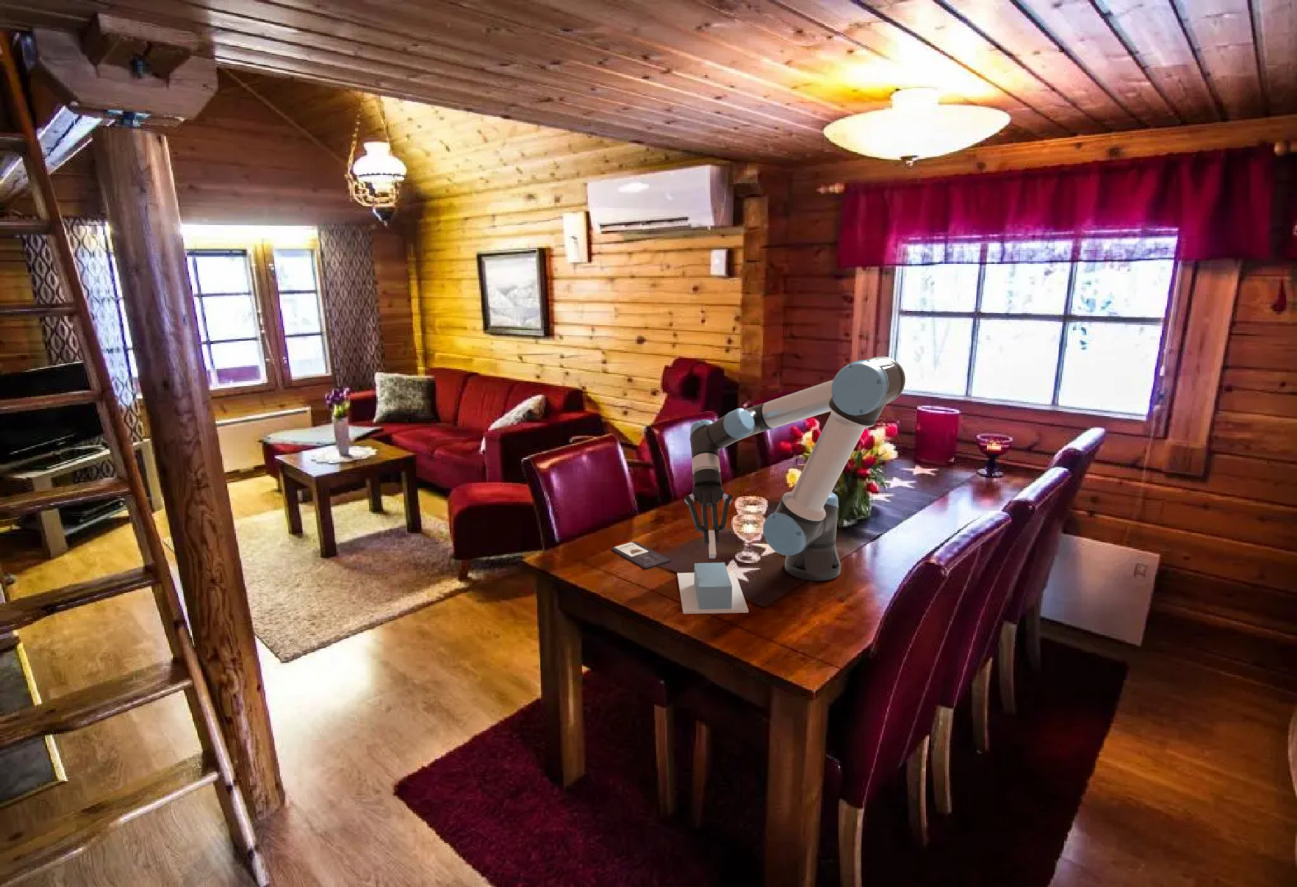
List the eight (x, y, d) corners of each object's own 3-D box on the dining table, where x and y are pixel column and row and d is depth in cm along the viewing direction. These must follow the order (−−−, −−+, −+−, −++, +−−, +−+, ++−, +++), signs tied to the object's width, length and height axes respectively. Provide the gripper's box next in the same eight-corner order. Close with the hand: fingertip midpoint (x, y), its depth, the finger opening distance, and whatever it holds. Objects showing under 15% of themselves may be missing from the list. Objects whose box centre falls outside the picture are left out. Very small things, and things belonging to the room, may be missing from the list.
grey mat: (735, 574, 188) (735, 572, 187) (748, 612, 166) (748, 610, 166) (677, 575, 187) (677, 573, 187) (683, 613, 166) (683, 611, 166)
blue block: (724, 562, 179) (732, 586, 165) (724, 583, 180) (731, 608, 167) (694, 563, 179) (699, 587, 165) (694, 584, 180) (699, 609, 167)
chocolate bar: (645, 568, 191) (610, 548, 205) (646, 571, 191) (610, 551, 205) (671, 560, 196) (634, 541, 210) (671, 563, 196) (634, 544, 210)
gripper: (729, 480, 187) (736, 561, 174) (681, 480, 186) (686, 562, 174) (732, 466, 180) (740, 550, 168) (683, 467, 180) (687, 551, 168)
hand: (712, 556), depth 171 cm, fingers closed
